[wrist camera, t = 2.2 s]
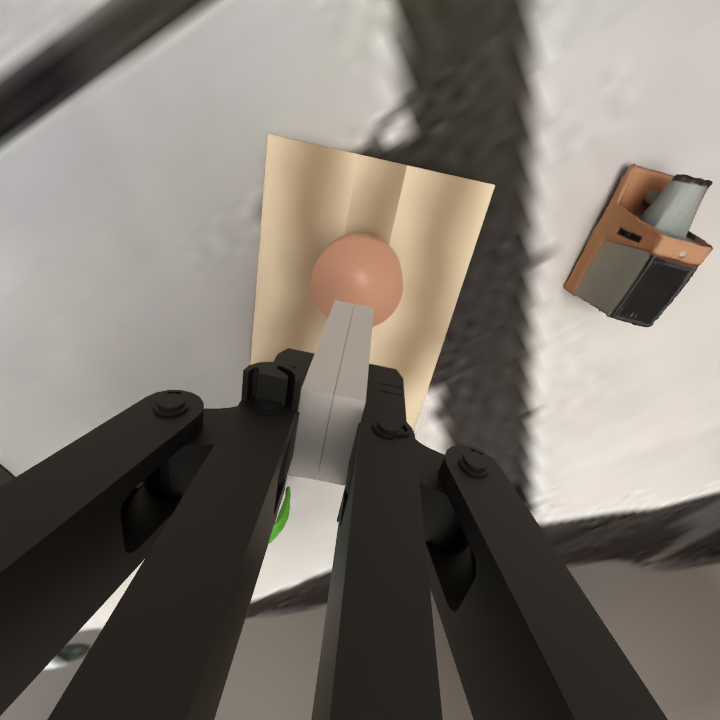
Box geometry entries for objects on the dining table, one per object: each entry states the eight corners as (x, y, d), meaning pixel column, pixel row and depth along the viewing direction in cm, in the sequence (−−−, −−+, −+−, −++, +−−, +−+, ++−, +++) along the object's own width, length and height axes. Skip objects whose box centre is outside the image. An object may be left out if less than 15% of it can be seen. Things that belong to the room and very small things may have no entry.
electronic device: (679, 178, 28) (771, 183, 21) (610, 301, 32) (667, 337, 26) (622, 162, 28) (696, 163, 21) (560, 289, 32) (605, 322, 26)
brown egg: (321, 288, 28) (305, 319, 23) (332, 215, 26) (318, 229, 20) (389, 302, 29) (391, 337, 23) (407, 231, 26) (413, 249, 21)
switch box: (263, 406, 39) (244, 444, 34) (290, 139, 28) (267, 133, 23) (397, 432, 40) (399, 474, 34) (474, 181, 29) (495, 185, 23)
